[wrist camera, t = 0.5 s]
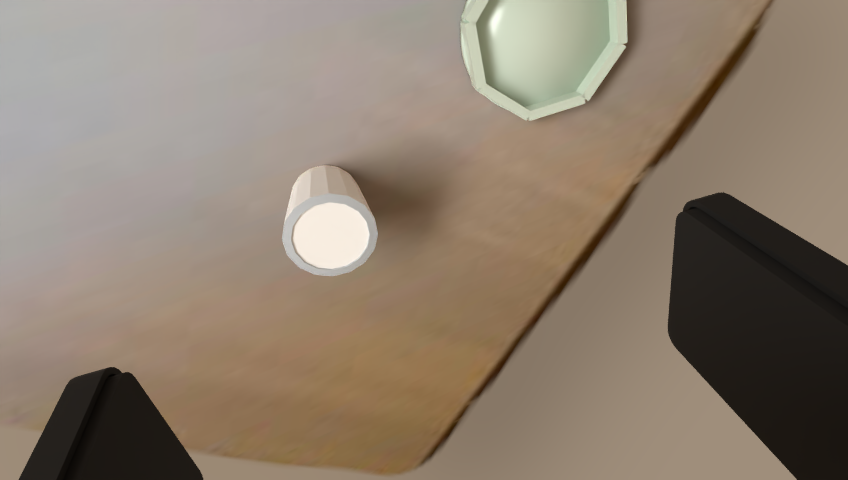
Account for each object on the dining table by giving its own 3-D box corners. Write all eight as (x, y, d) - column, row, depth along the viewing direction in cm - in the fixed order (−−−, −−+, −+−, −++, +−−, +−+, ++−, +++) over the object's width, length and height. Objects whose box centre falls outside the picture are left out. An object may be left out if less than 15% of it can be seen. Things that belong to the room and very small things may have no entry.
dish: (444, -38, 37) (450, -37, 35) (613, -88, 38) (626, -89, 36) (476, 130, 44) (483, 138, 42) (619, 86, 44) (631, 91, 43)
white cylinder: (379, 174, 44) (392, 211, 38) (349, 241, 46) (357, 286, 40) (299, 145, 41) (300, 181, 35) (272, 219, 44) (268, 263, 38)
